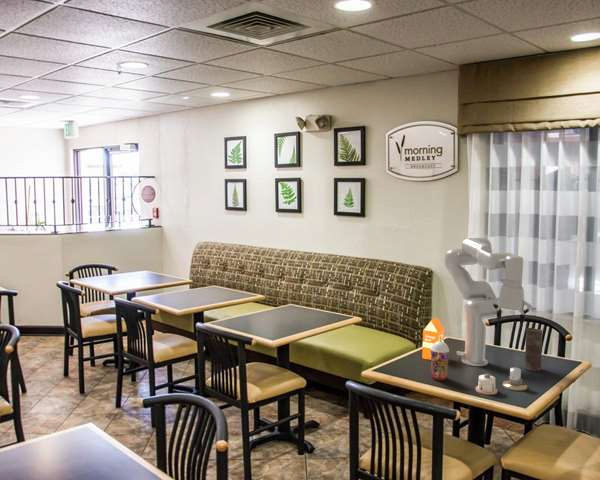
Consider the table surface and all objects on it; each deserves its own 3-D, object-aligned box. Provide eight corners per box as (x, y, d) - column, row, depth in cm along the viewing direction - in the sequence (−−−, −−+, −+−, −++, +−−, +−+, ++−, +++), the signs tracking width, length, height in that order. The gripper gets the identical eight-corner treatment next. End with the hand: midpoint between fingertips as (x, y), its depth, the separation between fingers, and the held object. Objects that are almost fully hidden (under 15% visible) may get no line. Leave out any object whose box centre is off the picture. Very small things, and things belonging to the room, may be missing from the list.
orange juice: (422, 358, 282) (423, 319, 280) (428, 353, 290) (430, 316, 288) (436, 361, 278) (438, 321, 276) (443, 356, 285) (444, 318, 283)
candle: (520, 367, 269) (522, 327, 267) (532, 365, 272) (534, 325, 270) (533, 372, 262) (535, 331, 260) (544, 370, 265) (547, 329, 263)
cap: (477, 385, 243) (478, 371, 243) (494, 386, 242) (494, 372, 241) (478, 390, 237) (479, 376, 236) (495, 392, 235) (496, 378, 235)
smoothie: (438, 382, 248) (439, 339, 246) (425, 376, 255) (427, 334, 253) (452, 379, 252) (454, 336, 250) (439, 374, 259) (441, 332, 257)
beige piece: (500, 387, 243) (500, 369, 242) (505, 380, 251) (506, 363, 250) (524, 392, 237) (525, 374, 236) (529, 385, 246) (530, 367, 245)
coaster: (472, 391, 238) (472, 389, 238) (478, 385, 245) (478, 383, 245) (494, 396, 233) (494, 394, 233) (499, 389, 240) (499, 387, 240)
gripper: (490, 282, 249) (488, 319, 252) (530, 287, 239) (528, 326, 241) (495, 279, 255) (493, 316, 258) (535, 284, 245) (532, 322, 247)
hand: (510, 321), depth 249 cm, fingers open, 9 cm apart
